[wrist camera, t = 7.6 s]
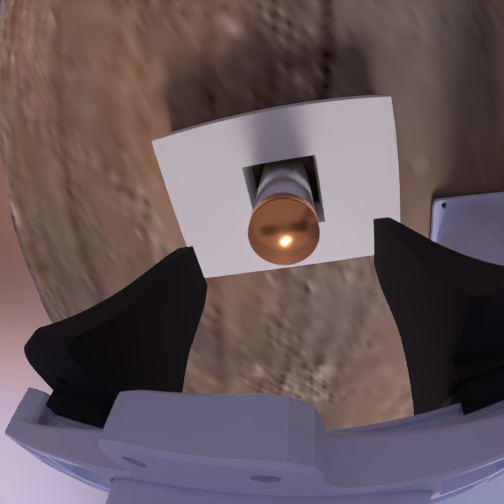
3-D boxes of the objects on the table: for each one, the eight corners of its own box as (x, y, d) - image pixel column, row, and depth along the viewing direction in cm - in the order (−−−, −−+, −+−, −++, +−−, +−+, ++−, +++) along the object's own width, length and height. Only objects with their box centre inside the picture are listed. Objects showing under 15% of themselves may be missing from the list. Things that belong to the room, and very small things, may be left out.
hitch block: (373, 94, 16) (391, 96, 13) (385, 227, 21) (399, 251, 18) (171, 132, 19) (151, 141, 16) (209, 252, 24) (199, 278, 21)
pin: (304, 152, 19) (319, 199, 11) (307, 193, 21) (319, 263, 13) (260, 154, 19) (243, 203, 12) (264, 195, 21) (252, 266, 13)
